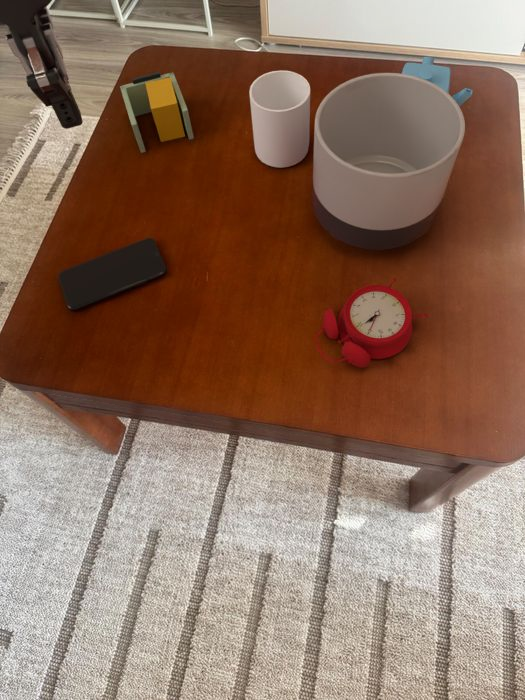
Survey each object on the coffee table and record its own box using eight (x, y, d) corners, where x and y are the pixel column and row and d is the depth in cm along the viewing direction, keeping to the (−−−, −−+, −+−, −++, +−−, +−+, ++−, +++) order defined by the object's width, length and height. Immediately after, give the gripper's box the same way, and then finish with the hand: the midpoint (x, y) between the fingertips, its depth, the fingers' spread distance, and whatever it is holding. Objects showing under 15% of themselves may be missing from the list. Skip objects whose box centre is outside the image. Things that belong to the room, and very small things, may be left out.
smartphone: (70, 314, 79) (169, 275, 81) (68, 311, 78) (168, 271, 80) (58, 275, 82) (153, 238, 84) (55, 272, 82) (152, 234, 84)
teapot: (386, 88, 97) (395, 34, 88) (464, 97, 95) (482, 43, 86) (369, 158, 90) (377, 107, 81) (453, 170, 87) (471, 119, 78)
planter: (311, 262, 81) (314, 177, 65) (311, 169, 89) (314, 73, 73) (440, 262, 79) (475, 175, 63) (427, 167, 88) (456, 69, 72)
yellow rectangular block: (185, 136, 95) (177, 103, 88) (159, 142, 94) (149, 109, 88) (178, 109, 98) (170, 75, 92) (153, 115, 98) (143, 81, 91)
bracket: (194, 138, 94) (186, 105, 88) (141, 153, 93) (130, 121, 87) (180, 101, 99) (172, 67, 93) (129, 114, 98) (118, 82, 92)
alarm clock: (439, 318, 71) (353, 362, 65) (421, 344, 76) (340, 387, 70) (390, 266, 75) (306, 303, 69) (377, 294, 80) (297, 330, 74)
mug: (247, 164, 91) (241, 106, 80) (267, 117, 96) (264, 56, 85) (301, 174, 89) (301, 116, 78) (318, 125, 94) (320, 64, 83)
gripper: (-67, -97, 43) (30, 92, 58) (-61, -8, 37) (45, 176, 52) (24, -118, 43) (97, 75, 59) (44, -34, 37) (119, 155, 53)
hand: (72, 122), depth 55 cm, fingers closed
